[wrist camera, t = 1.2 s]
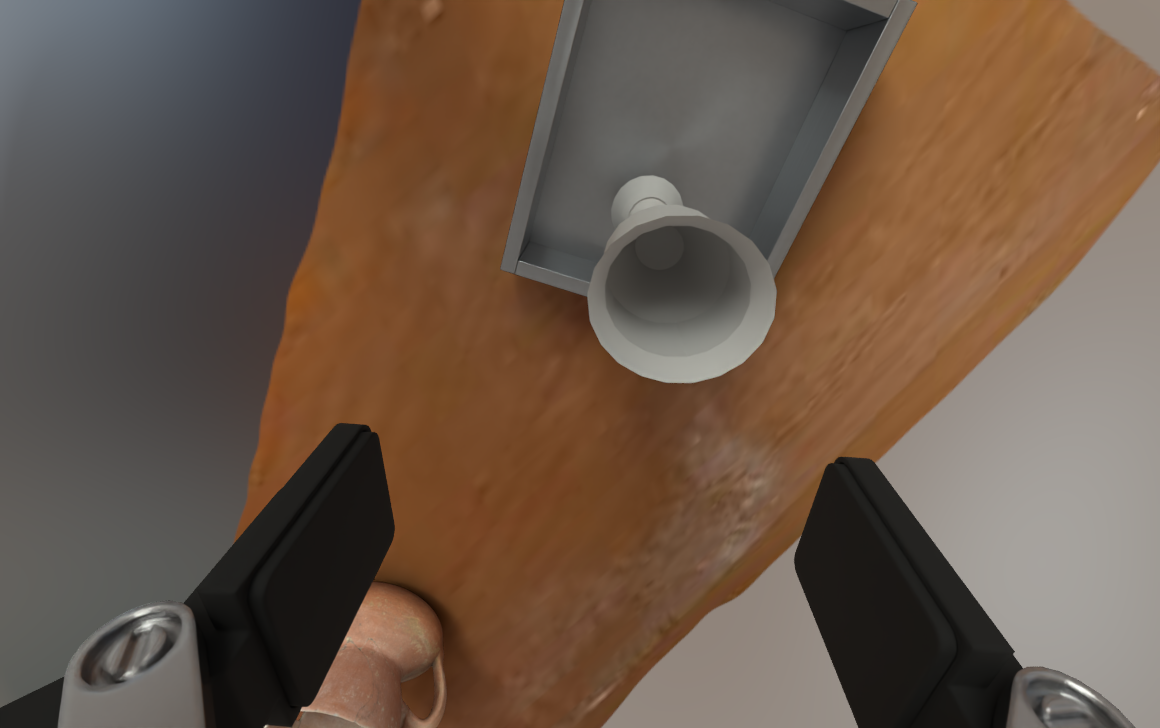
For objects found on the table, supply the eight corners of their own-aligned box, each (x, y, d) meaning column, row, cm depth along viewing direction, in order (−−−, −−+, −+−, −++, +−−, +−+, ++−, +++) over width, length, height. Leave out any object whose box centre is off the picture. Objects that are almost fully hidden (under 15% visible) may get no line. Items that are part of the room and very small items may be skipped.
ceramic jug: (301, 617, 59) (219, 756, 47) (334, 544, 53) (249, 681, 40) (441, 667, 63) (399, 808, 50) (487, 604, 56) (453, 747, 44)
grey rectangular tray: (513, 248, 37) (499, 269, 32) (596, -89, 28) (594, -128, 23) (723, 315, 39) (739, 344, 34) (869, 18, 29) (918, 2, 25)
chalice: (717, 189, 34) (815, 266, 18) (670, 276, 37) (717, 407, 21) (621, 142, 33) (635, 180, 17) (580, 236, 36) (559, 342, 20)
